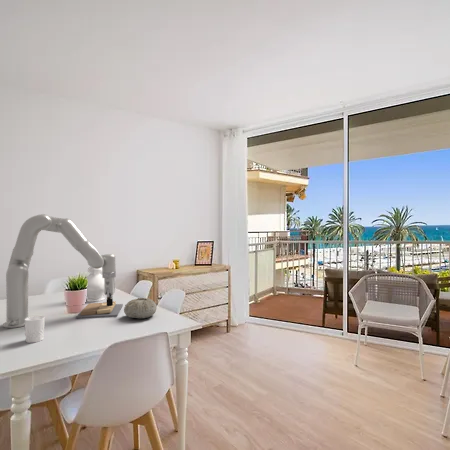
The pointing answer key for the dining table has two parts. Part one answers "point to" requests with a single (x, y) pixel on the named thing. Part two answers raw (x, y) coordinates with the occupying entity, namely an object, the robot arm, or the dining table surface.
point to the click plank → (105, 308)
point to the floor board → (113, 313)
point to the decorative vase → (95, 285)
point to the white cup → (34, 328)
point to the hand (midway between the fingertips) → (109, 305)
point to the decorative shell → (140, 308)
